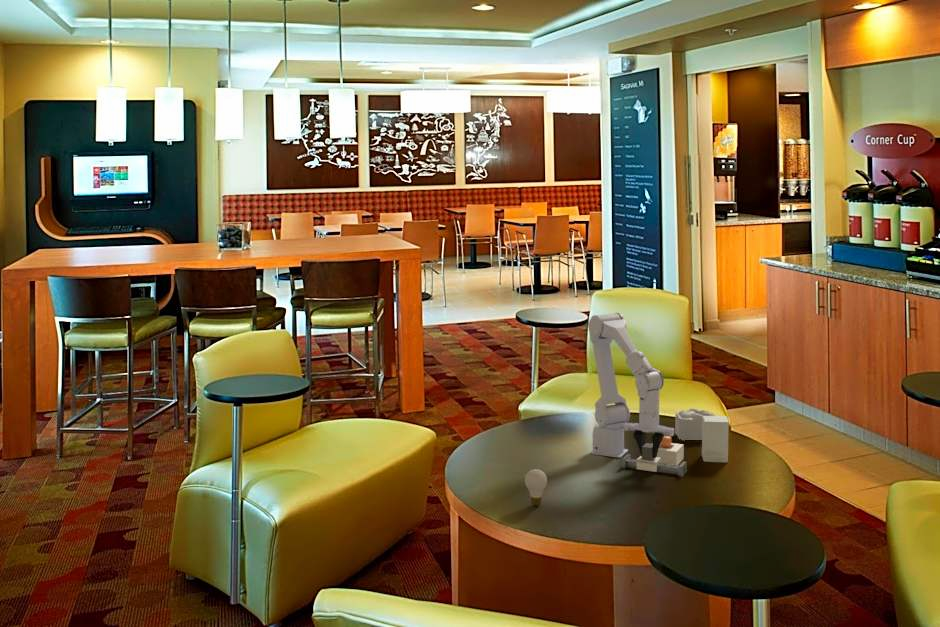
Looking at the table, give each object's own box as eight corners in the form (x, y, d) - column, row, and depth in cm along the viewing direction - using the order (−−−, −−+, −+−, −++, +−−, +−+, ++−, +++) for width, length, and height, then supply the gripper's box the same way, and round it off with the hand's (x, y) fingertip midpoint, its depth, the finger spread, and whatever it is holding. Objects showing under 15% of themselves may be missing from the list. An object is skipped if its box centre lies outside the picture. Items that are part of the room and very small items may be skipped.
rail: (622, 468, 261) (622, 458, 260) (627, 463, 265) (627, 453, 265) (681, 476, 252) (682, 466, 252) (686, 471, 257) (686, 461, 256)
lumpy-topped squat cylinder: (673, 432, 297) (673, 407, 295) (712, 431, 296) (712, 406, 295) (679, 441, 286) (680, 415, 285) (719, 440, 286) (720, 415, 285)
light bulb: (532, 500, 237) (531, 464, 235) (551, 504, 233) (550, 468, 232) (521, 507, 232) (520, 471, 230) (540, 511, 229) (539, 474, 227)
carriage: (636, 469, 259) (636, 446, 258) (641, 464, 263) (641, 442, 262) (656, 471, 256) (656, 448, 255) (660, 467, 260) (661, 444, 259)
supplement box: (728, 463, 264) (729, 422, 262) (702, 462, 265) (703, 421, 263) (726, 455, 271) (727, 415, 269) (701, 454, 272) (702, 415, 270)
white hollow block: (647, 462, 266) (647, 447, 265) (654, 454, 273) (655, 440, 272) (676, 466, 262) (676, 451, 261) (683, 458, 268) (683, 444, 268)
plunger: (658, 453, 266) (658, 438, 265) (661, 450, 269) (661, 435, 268) (669, 455, 264) (669, 439, 264) (672, 452, 267) (672, 436, 267)
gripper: (621, 412, 257) (620, 456, 259) (669, 417, 250) (669, 463, 252) (628, 406, 263) (628, 450, 265) (676, 411, 256) (675, 456, 258)
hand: (648, 456), depth 259 cm, fingers closed on carriage, 3 cm apart
